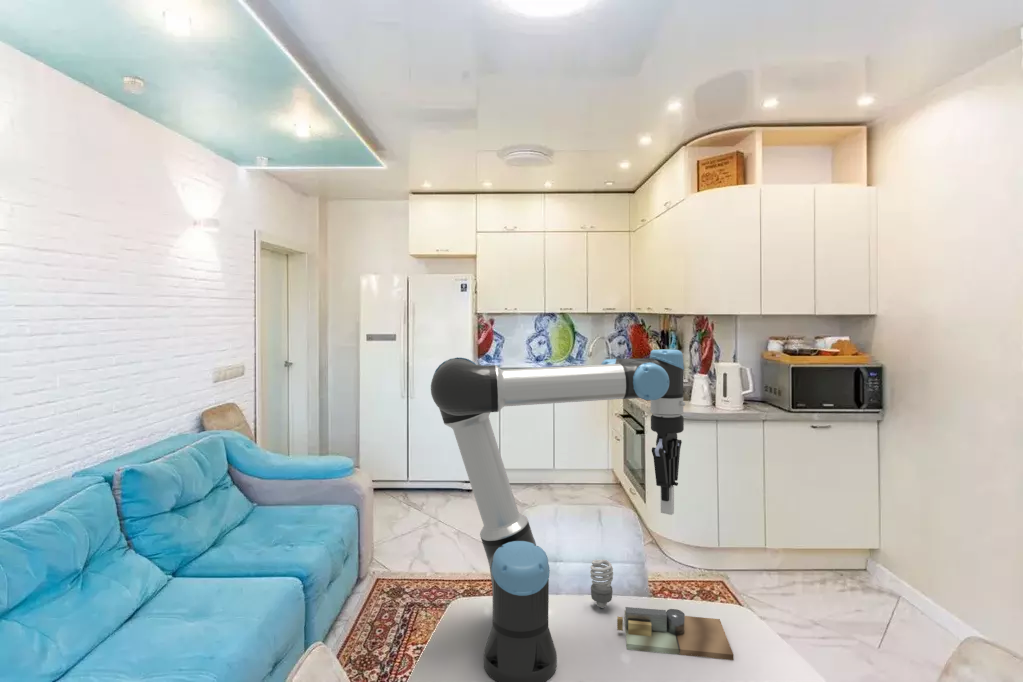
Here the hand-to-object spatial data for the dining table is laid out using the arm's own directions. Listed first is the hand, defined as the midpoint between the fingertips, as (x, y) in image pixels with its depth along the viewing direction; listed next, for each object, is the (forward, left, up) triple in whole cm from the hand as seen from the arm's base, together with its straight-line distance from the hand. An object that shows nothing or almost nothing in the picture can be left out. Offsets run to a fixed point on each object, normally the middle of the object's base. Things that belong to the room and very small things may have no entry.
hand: (667, 512), depth 128 cm
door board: (+1, -7, -26) cm, 27 cm away
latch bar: (-3, -7, -24) cm, 26 cm away
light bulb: (-15, +3, -26) cm, 30 cm away
